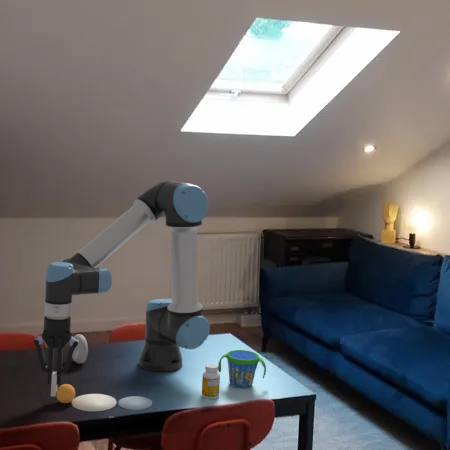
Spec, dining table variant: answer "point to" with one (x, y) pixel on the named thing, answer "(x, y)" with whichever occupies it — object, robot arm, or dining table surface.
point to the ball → (65, 393)
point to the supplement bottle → (211, 382)
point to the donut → (80, 349)
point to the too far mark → (135, 403)
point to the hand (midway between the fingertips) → (53, 394)
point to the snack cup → (242, 367)
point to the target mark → (94, 402)
